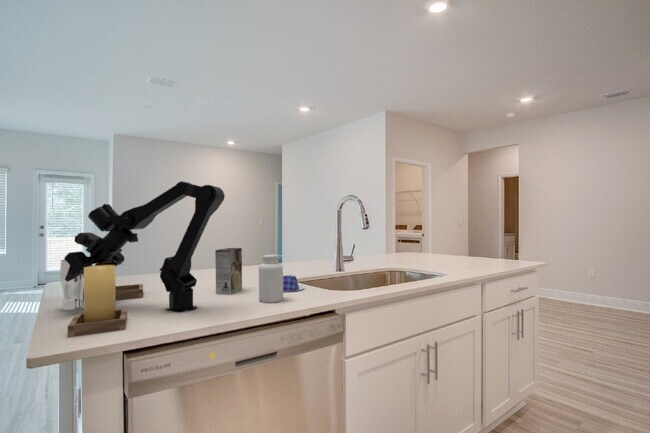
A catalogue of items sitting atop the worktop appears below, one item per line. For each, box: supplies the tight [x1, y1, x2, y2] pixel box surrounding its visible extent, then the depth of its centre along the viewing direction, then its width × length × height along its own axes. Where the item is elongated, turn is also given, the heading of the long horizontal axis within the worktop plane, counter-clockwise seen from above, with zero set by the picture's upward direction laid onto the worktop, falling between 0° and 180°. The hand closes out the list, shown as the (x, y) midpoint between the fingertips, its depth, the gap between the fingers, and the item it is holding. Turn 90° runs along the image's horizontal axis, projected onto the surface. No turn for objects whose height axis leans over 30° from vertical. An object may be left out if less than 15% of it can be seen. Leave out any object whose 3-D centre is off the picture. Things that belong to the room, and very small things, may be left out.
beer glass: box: [59, 258, 84, 312], centre depth 106 cm, size 7×7×15 cm
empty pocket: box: [115, 283, 144, 301], centre depth 121 cm, size 11×11×3 cm
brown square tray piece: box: [67, 308, 128, 338], centre depth 86 cm, size 11×11×3 cm
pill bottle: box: [258, 254, 284, 304], centre depth 114 cm, size 8×8×15 cm
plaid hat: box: [283, 274, 305, 293], centre depth 132 cm, size 12×12×5 cm
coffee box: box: [214, 247, 243, 295], centre depth 128 cm, size 9×6×16 cm
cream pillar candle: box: [83, 265, 116, 323], centre depth 86 cm, size 7×7×15 cm
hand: (78, 277), depth 105 cm, fingers open, 9 cm apart
